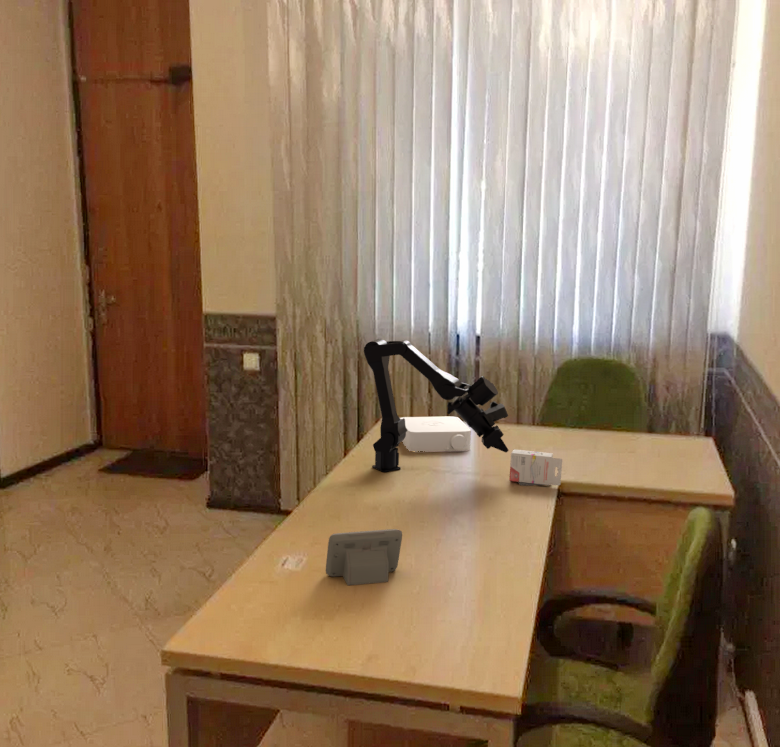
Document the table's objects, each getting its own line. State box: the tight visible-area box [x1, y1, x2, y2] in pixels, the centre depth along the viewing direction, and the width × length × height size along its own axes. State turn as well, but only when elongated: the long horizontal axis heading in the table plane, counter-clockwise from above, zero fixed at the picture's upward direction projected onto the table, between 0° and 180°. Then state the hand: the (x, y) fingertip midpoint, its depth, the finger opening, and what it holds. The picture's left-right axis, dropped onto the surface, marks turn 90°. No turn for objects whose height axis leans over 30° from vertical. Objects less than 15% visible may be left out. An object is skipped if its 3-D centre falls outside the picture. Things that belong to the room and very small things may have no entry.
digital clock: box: [325, 528, 403, 586], centre depth 188 cm, size 16×9×11 cm, turn 94°
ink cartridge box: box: [508, 449, 563, 486], centre depth 256 cm, size 9×5×15 cm
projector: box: [399, 415, 472, 453], centre depth 297 cm, size 21×22×7 cm
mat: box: [517, 482, 542, 486], centre depth 260 cm, size 8×12×1 cm, turn 3°
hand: (507, 451), depth 258 cm, fingers closed
